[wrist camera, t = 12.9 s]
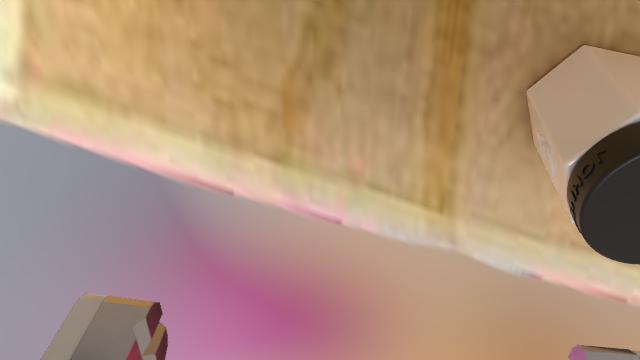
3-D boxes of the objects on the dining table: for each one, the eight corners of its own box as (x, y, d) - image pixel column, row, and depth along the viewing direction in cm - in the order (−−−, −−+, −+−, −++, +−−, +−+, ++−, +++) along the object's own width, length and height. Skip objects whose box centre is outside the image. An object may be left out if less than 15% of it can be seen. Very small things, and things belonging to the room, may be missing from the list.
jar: (517, 61, 36) (571, 159, 26) (650, 24, 34) (762, 116, 24) (533, 166, 41) (584, 282, 31) (651, 140, 39) (745, 256, 29)
